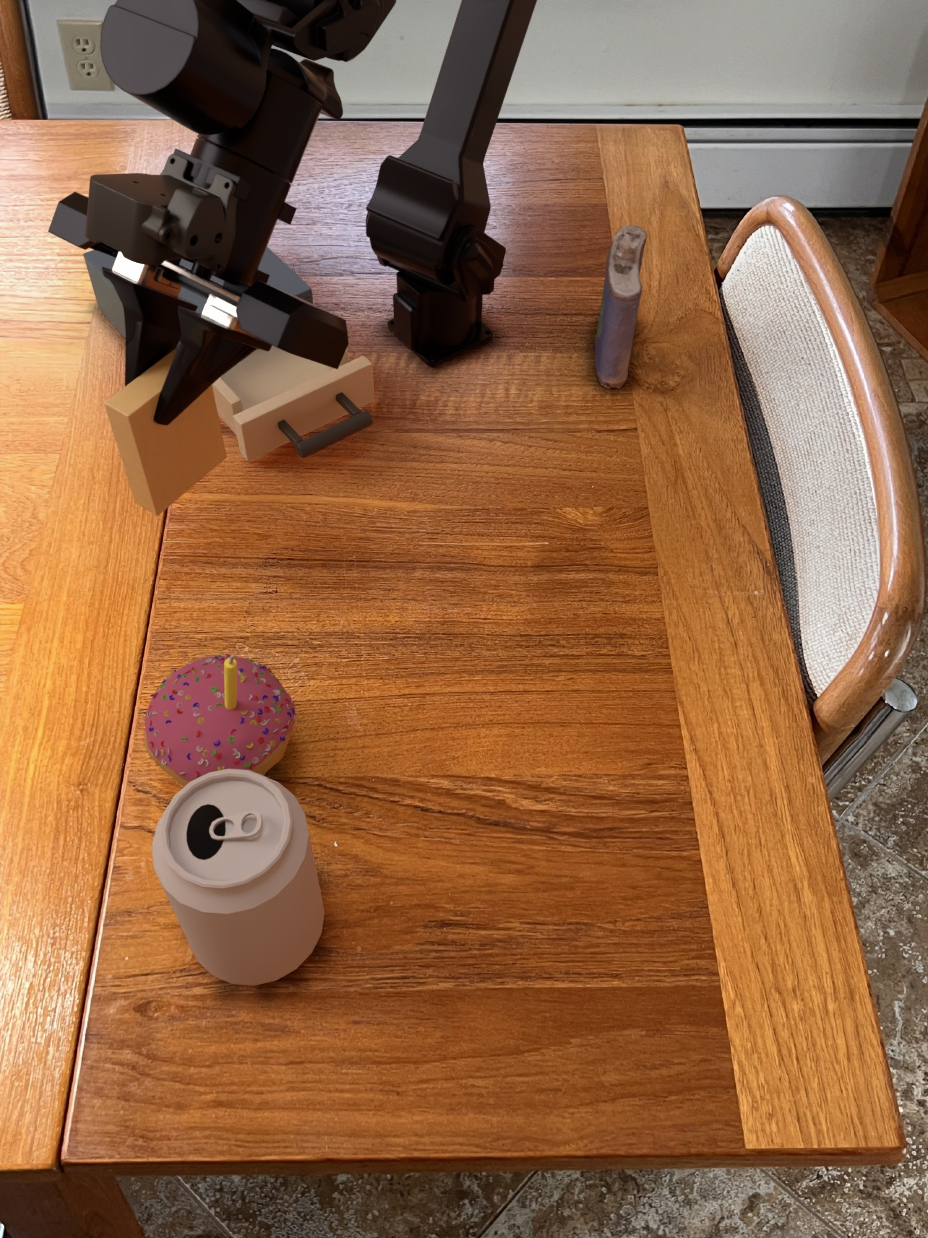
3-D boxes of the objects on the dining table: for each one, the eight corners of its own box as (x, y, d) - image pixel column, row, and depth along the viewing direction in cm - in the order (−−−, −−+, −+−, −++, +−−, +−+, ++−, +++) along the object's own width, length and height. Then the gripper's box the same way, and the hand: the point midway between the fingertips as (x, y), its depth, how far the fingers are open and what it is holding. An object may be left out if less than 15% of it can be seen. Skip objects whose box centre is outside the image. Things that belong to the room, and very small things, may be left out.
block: (205, 444, 76) (181, 342, 70) (227, 457, 76) (206, 355, 69) (134, 503, 73) (103, 402, 66) (157, 516, 72) (127, 416, 66)
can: (193, 866, 66) (150, 759, 56) (325, 857, 66) (305, 749, 57) (185, 997, 61) (137, 904, 52) (326, 986, 62) (305, 892, 52)
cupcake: (323, 724, 72) (305, 605, 62) (265, 842, 67) (235, 733, 57) (198, 685, 73) (162, 564, 64) (133, 798, 68) (82, 684, 59)
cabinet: (318, 343, 94) (312, 288, 89) (181, 404, 89) (168, 349, 85) (229, 256, 100) (219, 201, 96) (98, 308, 96) (82, 253, 91)
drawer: (403, 428, 86) (402, 391, 83) (275, 492, 82) (268, 455, 79) (283, 311, 95) (278, 273, 92) (161, 363, 90) (151, 325, 88)
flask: (626, 391, 91) (645, 276, 82) (589, 387, 91) (603, 272, 82) (633, 318, 96) (651, 203, 88) (598, 314, 96) (612, 199, 88)
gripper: (24, 52, 61) (-69, 328, 64) (294, 170, 55) (175, 469, 58) (159, 128, 71) (72, 363, 75) (400, 234, 65) (293, 486, 68)
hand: (145, 415), depth 69 cm, fingers closed on block, 2 cm apart
